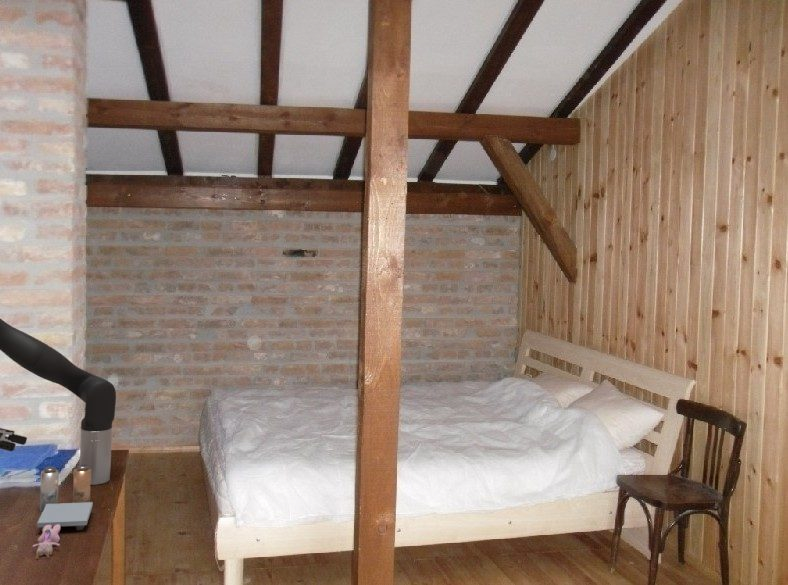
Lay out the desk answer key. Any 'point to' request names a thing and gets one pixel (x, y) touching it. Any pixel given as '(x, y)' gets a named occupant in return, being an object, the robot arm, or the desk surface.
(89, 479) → the copper canister
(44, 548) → the rabbit figure
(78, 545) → the desk surface
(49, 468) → the steel canister
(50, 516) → the grey square platform
